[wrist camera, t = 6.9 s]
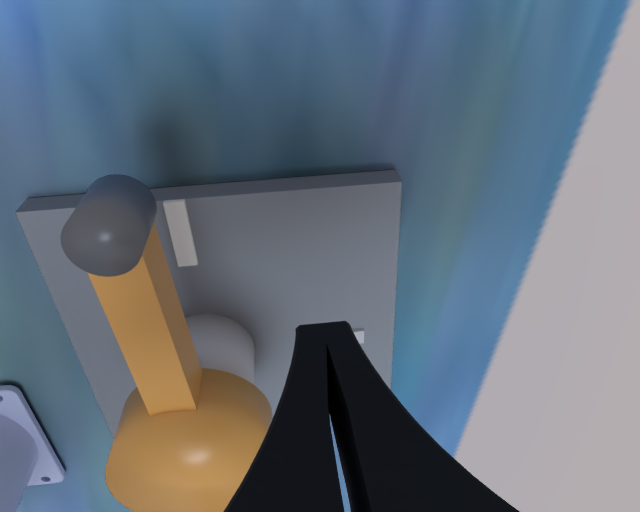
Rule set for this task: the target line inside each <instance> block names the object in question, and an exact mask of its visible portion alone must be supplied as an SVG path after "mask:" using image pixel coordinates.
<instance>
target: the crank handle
mask: <svg viewBox="0 0 640 512" xmlns="http://www.w3.org/2000/svg"><path fill="white" fill-rule="evenodd" d="M156 215H157V204H156V201H155V198H154V196H153V194H152V193H151V191H150V190H149V189H148V188H147V187H146V186H145V185H144V184H143V183H141V182H140V181H138V180H136V179H134V178H132V177H129V176H125V175H116V174H115V175H107V176H104V177H101V178H99V179H97V180H96V181H95V182H94V183H93V184H92V185H91V186H90V187H89V189H88V190H87V192H86V193H85V195H84V196H83V198H82V199H81V201H80V202H79V204H78V205H77V207H76V208H75V210H74V211H73V213H72V214H71V216H70V217H69V219H68V220H67V222H66V223H65V225H64V227H63V228H62V231H61V237H60V240H61V246H62V249H63V251H64V253H65V255H66V256H67V257H68V259H69V260H70V261H71V262H72V263H73V264H74V265H76V266H77V267H78V268H80V269H82V270H83V271H85V272H87V273H88V275H89V277H90V280H91V282H92V284H93V287H94V289H95V291H96V293H97V296H98V298H99V300H100V303H101V305H102V307H103V310H104V312H105V314H106V316H107V319H108V321H109V323H110V326H111V328H112V330H113V332H114V335H115V337H116V339H117V342H118V344H119V346H120V348H121V351H122V353H123V355H124V358H125V360H126V362H127V365H128V367H129V369H130V371H131V374H132V376H133V378H134V381H135V383H136V385H137V387H136V388H135V389H134V390H133V391H132V392H131V394H130V395H129V396H128V398H127V400H126V402H125V404H124V407H123V410H122V413H121V417H120V420H119V424H118V427H117V431H116V434H115V437H114V441H113V444H112V448H111V451H110V455H109V458H108V462H107V465H106V469H105V480H106V484H107V486H108V489H109V491H110V492H111V493H112V495H113V496H114V497H115V498H116V499H117V500H118V501H119V502H120V503H121V504H123V505H124V506H125V507H127V508H129V509H130V510H132V511H134V512H224V510H225V508H226V507H227V505H228V504H229V502H230V500H231V499H232V497H233V496H234V494H235V492H236V491H237V489H238V487H239V486H240V484H241V482H242V481H243V479H244V477H245V475H246V473H247V472H248V470H249V468H250V466H251V464H252V462H253V460H254V458H255V456H256V454H257V452H258V450H259V448H260V446H261V444H262V442H263V440H264V438H265V435H266V433H267V431H268V429H269V426H270V424H271V422H272V419H273V415H272V409H271V406H270V403H269V401H268V399H267V398H266V396H265V395H264V394H263V393H262V391H261V390H259V389H258V388H257V387H256V386H255V385H253V384H252V383H251V382H249V381H247V380H246V379H244V378H242V377H240V376H237V375H235V374H232V373H229V372H225V371H221V370H216V369H208V368H201V366H200V363H199V360H198V357H197V354H196V351H195V348H194V344H193V341H192V338H191V335H190V332H189V329H188V326H187V323H186V319H185V316H184V313H183V310H182V307H181V304H180V301H179V298H178V295H177V291H176V288H175V285H174V282H173V279H172V276H171V273H170V270H169V266H168V263H167V260H166V257H165V254H164V251H163V248H162V245H161V242H160V238H159V235H158V232H157V229H156V226H155V223H154V221H155V218H156Z"/></svg>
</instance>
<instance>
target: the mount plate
mask: <svg viewBox="0 0 640 512" xmlns="http://www.w3.org/2000/svg"><path fill="white" fill-rule="evenodd" d="M149 190H150V191H151V193H152V194H153V196H154V198H155V201H156V204H157V215H156V218H155V221H154V223H155V226H156V229H157V232H158V235H159V238H160V242H161V245H162V248H163V251H164V254H165V257H166V260H167V263H168V266H169V270H170V273H171V276H172V279H173V282H174V285H175V288H176V291H177V295H178V298H179V301H180V304H181V307H182V310H183V313H184V316H185V319H186V323H187V326H188V329H189V332H190V335H191V338H192V341H193V344H194V348H195V351H196V354H197V357H198V360H199V363H200V366H201V368H208V369H216V370H221V371H225V372H229V373H232V374H235V375H237V376H240V377H242V378H244V379H246V380H247V381H249V382H251V383H252V384H253V385H255V386H256V387H257V388H258V389H259V390H261V391H262V393H263V394H264V395H265V396H266V398H267V399H268V401H269V403H270V406H271V409H272V415H273V417H274V414H275V411H276V409H277V406H278V403H279V400H280V398H281V395H282V392H283V389H284V386H285V383H286V379H287V375H288V372H289V368H290V365H291V360H292V356H293V351H294V345H295V335H296V331H295V329H296V328H297V327H298V326H299V325H306V324H316V323H327V322H337V321H347V322H348V323H349V324H350V326H351V328H352V330H353V332H354V334H355V336H356V338H357V340H358V342H359V344H360V345H361V347H362V349H363V351H364V352H365V354H366V355H367V357H368V359H369V360H370V362H371V363H372V365H373V366H374V368H375V369H376V371H377V372H378V373H379V375H380V376H381V378H382V379H383V381H384V382H385V383H386V385H387V386H388V387H389V389H390V390H391V373H392V355H393V337H394V319H395V301H396V283H397V266H398V248H399V230H400V212H401V194H402V180H401V179H400V177H399V175H398V173H397V171H396V170H384V171H371V172H358V173H345V174H332V175H319V176H306V177H294V178H281V179H268V180H255V181H242V182H229V183H217V184H204V185H191V186H178V187H165V188H152V189H149ZM84 195H85V194H75V195H62V196H50V197H37V198H27V199H26V201H25V202H24V203H23V204H22V205H21V206H20V208H19V209H18V210H17V211H16V212H15V213H16V215H17V218H18V220H19V222H20V225H21V227H22V229H23V232H24V234H25V236H26V238H27V241H28V243H29V245H30V248H31V250H32V252H33V255H34V257H35V259H36V262H37V264H38V266H39V268H40V271H41V273H42V275H43V278H44V280H45V282H46V285H47V287H48V289H49V292H50V294H51V296H52V298H53V301H54V303H55V305H56V308H57V310H58V312H59V315H60V317H61V319H62V322H63V324H64V326H65V328H66V331H67V333H68V335H69V338H70V340H71V342H72V345H73V347H74V349H75V352H76V354H77V356H78V358H79V361H80V363H81V365H82V368H83V370H84V372H85V375H86V377H87V379H88V382H89V384H90V386H91V388H92V391H93V393H94V395H95V398H96V400H97V402H98V405H99V407H100V409H101V412H102V414H103V416H104V418H105V421H106V423H107V425H108V428H109V430H110V432H111V435H112V437H113V439H114V437H115V434H116V431H117V427H118V424H119V420H120V417H121V413H122V410H123V407H124V404H125V402H126V400H127V398H128V396H129V395H130V394H131V392H132V391H133V390H134V389H135V388H136V387H137V385H136V383H135V381H134V378H133V376H132V374H131V371H130V369H129V367H128V365H127V362H126V360H125V358H124V355H123V353H122V351H121V348H120V346H119V344H118V342H117V339H116V337H115V335H114V332H113V330H112V328H111V326H110V323H109V321H108V319H107V316H106V314H105V312H104V310H103V307H102V305H101V303H100V300H99V298H98V296H97V293H96V291H95V289H94V287H93V284H92V282H91V280H90V277H89V275H88V273H87V272H85V271H83V270H82V269H80V268H78V267H77V266H76V265H74V264H73V263H72V262H71V261H70V260H69V259H68V257H67V256H66V255H65V253H64V251H63V249H62V246H61V240H60V237H61V231H62V228H63V227H64V225H65V223H66V222H67V220H68V219H69V217H70V216H71V214H72V213H73V211H74V210H75V208H76V207H77V205H78V204H79V202H80V201H81V199H82V198H83V196H84ZM330 418H331V417H330Z"/></svg>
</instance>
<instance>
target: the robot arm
mask: <svg viewBox="0 0 640 512" xmlns="http://www.w3.org/2000/svg"><path fill="white" fill-rule="evenodd" d="M295 331H296V335H295V345H294V351H293V356H292V360H291V365H290V368H289V372H288V375H287V379H286V383H285V386H284V389H283V392H282V395H281V398H280V400H279V403H278V406H277V409H276V411H275V414H274V417H273V419H272V422H271V424H270V426H269V429H268V431H267V433H266V435H265V438H264V440H263V442H262V444H261V446H260V448H259V450H258V452H257V454H256V456H255V458H254V460H253V462H252V464H251V466H250V468H249V470H248V472H247V473H246V475H245V477H244V479H243V481H242V482H241V484H240V486H239V487H238V489H237V491H236V492H235V494H234V496H233V497H232V499H231V500H230V502H229V504H228V505H227V507H226V508H225V510H224V512H344V507H343V501H342V495H341V489H340V484H339V478H338V472H337V465H336V459H335V453H334V447H333V440H332V434H331V427H330V417H331V422H332V426H333V430H334V435H335V439H336V444H337V448H338V452H339V457H340V461H341V466H342V470H343V474H344V479H345V483H346V487H347V492H348V497H349V502H350V508H351V512H519V511H518V510H516V509H515V508H514V507H512V506H511V505H510V504H508V503H507V502H506V501H505V500H503V499H502V498H501V497H499V496H498V495H497V494H495V493H494V492H493V491H491V490H490V489H489V488H488V487H486V486H485V485H484V484H483V483H482V482H480V481H479V480H478V479H477V478H475V477H474V476H473V475H472V474H471V473H470V472H468V471H467V470H466V469H465V468H464V467H463V466H462V465H461V464H460V463H458V462H457V461H456V460H455V459H454V458H453V457H452V456H451V455H450V454H448V453H447V452H446V451H445V450H444V449H443V448H442V447H441V446H440V445H439V444H438V443H437V442H436V441H435V440H434V439H433V438H432V437H431V436H430V435H429V434H428V433H427V432H426V431H425V430H424V429H423V428H422V427H421V426H420V425H419V423H418V422H417V421H416V420H415V419H414V418H413V417H412V416H411V415H410V413H409V412H408V411H407V410H406V409H405V408H404V406H403V405H402V404H401V403H400V401H399V400H398V399H397V398H396V396H395V395H394V394H393V393H392V391H391V390H390V389H389V387H388V386H387V385H386V383H385V382H384V381H383V379H382V378H381V376H380V375H379V373H378V372H377V371H376V369H375V368H374V366H373V365H372V363H371V362H370V360H369V359H368V357H367V355H366V354H365V352H364V351H363V349H362V347H361V345H360V344H359V342H358V340H357V338H356V336H355V334H354V332H353V330H352V328H351V326H350V324H349V323H348V322H347V321H337V322H327V323H316V324H306V325H299V326H298V327H297V328H296V329H295ZM65 474H66V473H65V470H64V469H63V467H62V465H61V463H60V461H59V460H58V458H57V456H56V454H55V452H54V450H53V449H52V447H51V445H50V443H49V441H48V440H47V438H46V436H45V434H44V432H43V431H42V429H41V427H40V425H39V423H38V421H37V420H36V418H35V416H34V414H33V412H32V411H31V409H30V407H29V405H28V403H27V402H26V400H25V398H24V396H23V394H22V392H21V391H20V390H19V388H17V387H15V386H12V385H4V386H0V512H16V511H17V508H18V506H19V504H20V501H21V499H22V497H23V494H24V492H25V490H26V487H27V486H32V485H41V484H50V483H58V482H61V481H63V479H64V477H65Z"/></svg>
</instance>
